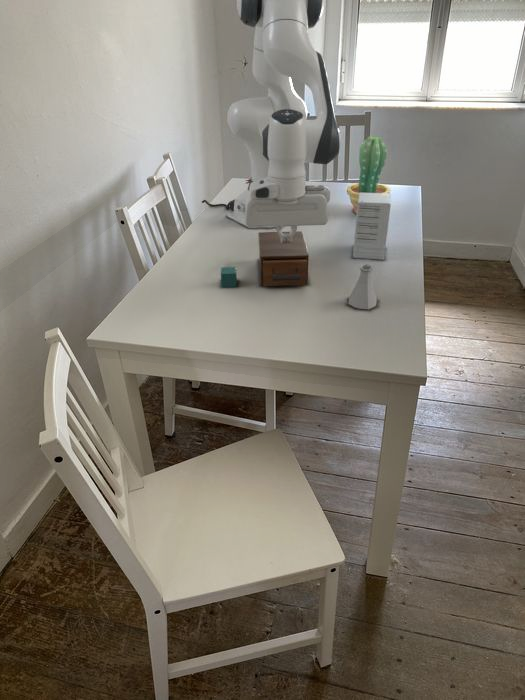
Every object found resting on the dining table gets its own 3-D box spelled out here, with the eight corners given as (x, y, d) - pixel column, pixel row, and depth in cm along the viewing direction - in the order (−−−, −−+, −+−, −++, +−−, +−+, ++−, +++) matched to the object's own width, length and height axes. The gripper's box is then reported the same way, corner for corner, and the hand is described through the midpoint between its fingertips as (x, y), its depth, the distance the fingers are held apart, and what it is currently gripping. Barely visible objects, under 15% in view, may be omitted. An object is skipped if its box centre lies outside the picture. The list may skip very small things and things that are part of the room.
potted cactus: (392, 207, 192) (402, 134, 178) (382, 221, 180) (391, 144, 166) (351, 201, 197) (357, 130, 183) (338, 215, 186) (344, 140, 172)
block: (221, 287, 142) (220, 273, 140) (222, 280, 145) (221, 267, 143) (236, 286, 142) (235, 273, 140) (236, 280, 145) (236, 266, 143)
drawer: (308, 294, 136) (309, 270, 132) (264, 296, 135) (263, 272, 132) (300, 260, 153) (301, 238, 149) (261, 261, 153) (261, 239, 149)
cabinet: (307, 284, 142) (308, 255, 137) (260, 286, 142) (260, 256, 137) (301, 258, 156) (302, 231, 151) (259, 260, 156) (258, 232, 151)
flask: (370, 312, 130) (374, 276, 124) (343, 305, 133) (346, 269, 127) (381, 300, 135) (385, 264, 129) (355, 293, 138) (358, 258, 132)
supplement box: (384, 260, 154) (391, 203, 145) (352, 258, 156) (357, 202, 146) (384, 247, 162) (391, 192, 153) (354, 245, 164) (359, 191, 154)
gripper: (328, 181, 127) (325, 235, 135) (243, 183, 127) (245, 238, 134) (332, 189, 122) (329, 245, 129) (244, 191, 121) (246, 248, 129)
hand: (286, 241), depth 132 cm, fingers closed
